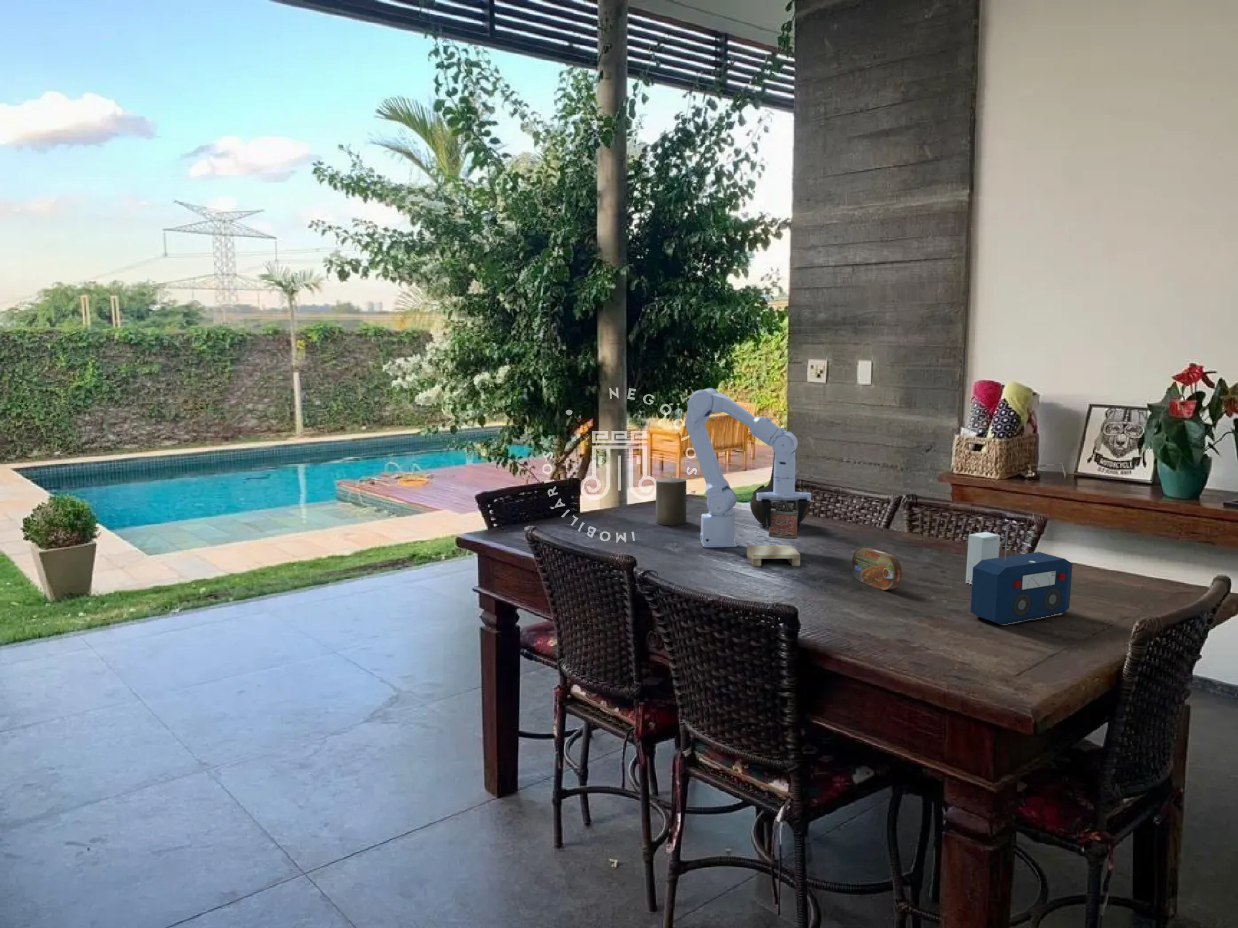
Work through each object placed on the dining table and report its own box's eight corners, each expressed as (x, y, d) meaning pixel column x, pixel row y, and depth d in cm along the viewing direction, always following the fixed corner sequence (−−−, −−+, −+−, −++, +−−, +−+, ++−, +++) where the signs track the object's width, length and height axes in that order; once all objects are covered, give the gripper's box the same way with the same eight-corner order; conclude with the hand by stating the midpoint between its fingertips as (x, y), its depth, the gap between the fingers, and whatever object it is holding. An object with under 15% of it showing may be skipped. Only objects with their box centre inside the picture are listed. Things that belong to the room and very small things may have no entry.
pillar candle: (687, 525, 272) (687, 478, 270) (655, 525, 272) (656, 478, 270) (685, 519, 282) (685, 473, 280) (655, 519, 282) (655, 473, 280)
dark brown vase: (765, 517, 284) (767, 431, 280) (817, 524, 274) (820, 434, 270) (739, 527, 270) (740, 436, 266) (793, 534, 259) (795, 440, 255)
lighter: (799, 537, 240) (799, 501, 239) (795, 539, 237) (796, 503, 236) (770, 534, 244) (771, 499, 242) (766, 537, 241) (767, 501, 239)
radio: (1000, 629, 175) (1005, 531, 172) (966, 617, 183) (971, 523, 180) (1074, 616, 183) (1081, 522, 180) (1039, 604, 191) (1045, 514, 188)
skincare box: (980, 588, 204) (982, 537, 202) (965, 583, 207) (967, 534, 206) (998, 584, 206) (1000, 534, 205) (983, 580, 210) (985, 531, 208)
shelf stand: (753, 566, 224) (753, 554, 223) (746, 556, 234) (747, 545, 233) (800, 565, 224) (800, 554, 224) (791, 556, 234) (792, 545, 234)
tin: (850, 578, 213) (851, 544, 212) (860, 576, 214) (861, 543, 213) (892, 594, 199) (893, 558, 198) (903, 593, 200) (904, 557, 199)
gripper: (760, 479, 234) (759, 529, 236) (814, 479, 234) (812, 529, 236) (755, 475, 241) (754, 523, 243) (808, 475, 241) (806, 523, 243)
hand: (782, 526), depth 240 cm, fingers closed on lighter, 7 cm apart
